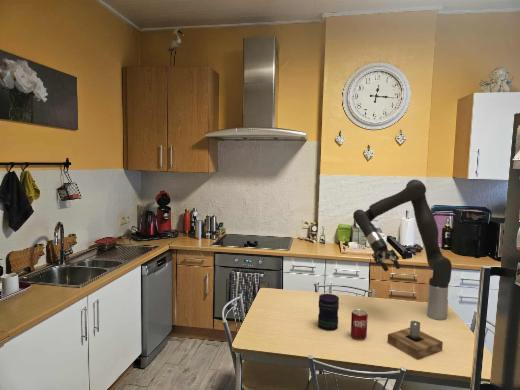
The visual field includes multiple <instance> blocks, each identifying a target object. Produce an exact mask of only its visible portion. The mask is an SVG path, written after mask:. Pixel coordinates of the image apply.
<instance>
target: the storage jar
mask: <svg viewBox="0 0 520 390" xmlns="http://www.w3.org/2000/svg"><path fill="white" fill-rule="evenodd" d="M339 300H340V298H339V296H338V295H336V294H332V293H321V294H319V295H318V315H317V321H318V322H317V323H318V325H317V327H318V328H319V329H320V330H322V331H326V332H333V331H336V330H338V328H339V309H340V306H339V305H340V301H339Z"/></svg>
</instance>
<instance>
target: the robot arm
mask: <svg viewBox="0 0 520 390" xmlns="http://www.w3.org/2000/svg"><path fill="white" fill-rule="evenodd" d="M426 192H427V187H426V185H425V184H424V183H423V182H422V181H421V180H419V179H411V180H409V181H408V182H407V184H406V185H405V188H403V189H402V190H400V191H399V192H397V193H395V194H392V195H390V196H388V197H384V198H382V199H380V200H378V201H376V202H374V203H372V204H371V205H370V206H368V208H367V209H366V210H365V211H364V209H356V210H355V211H354V212H353V216H352V217H353V220H354V222H355V223H356V224H357V226H358V227H359V229H360V230H361V232H362V233H363V235H364V238H365V239H366V241H367V243H368V245H369V247H370V248H371V250H372V251H373V253H372V254H371V257H372V258H373V259H374V262H375V263H376V265H378V266H379V265H380V266H381V268H382V269H383V271H384V272H388V271H389V268H388V266H387V264H386V263H385V261H391V262H392V264H393V266H394V267H395V268H396V270H400V269H401V264H400V263H399V260H400V257H399V256H398V255H397V253H396V251H395V250H394V249H393V248H392V249H391V250H389V249H388V244H387V243H386V241H385V239H384V238H383V236H382V235H381V234H380V233H379V231H378V229H377V228H376V226H375V225H374V224H373V223H372V221H374V220H375V219H376V218H378V216H381V215H384V214H385V213H387V212H389V211H391V210H393V209H395V208H397V207H399V206H401V205H403V204H405V203H408V202H411V204H412V207H413V214H414V218H415V222H416V227H417V229H418V233H419V235H420V238H421V241H422V244H423V246H424V250H425V254H426V261H427V264H428V267H429V268H430V269H431V270H432V277H430V278H429V281H428V292H427V295H428V297H427V307H426V308H427V311H426V314H427V317H428V318H431V319H433V320H439V321H440V320H441V321H444V320H447V317H448V307H449V299H448V295H449V294H448V293H449V284H450V282H451V279H452V278H451V277H452V270H453V269H452V262H451V260H450V258H447V257H446V256H444V255H443V254H442V251H441V249H440V246H439V227H438V225H437V221H436V219H435V216H434V214H433V212H432V209H431V208H430V205H429V204H428V200H427V197H426Z"/></svg>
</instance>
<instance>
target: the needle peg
mask: <svg viewBox="0 0 520 390" xmlns="http://www.w3.org/2000/svg"><path fill="white" fill-rule="evenodd" d="M409 328H410V340H412V341H414V342H419V337H420V331H421V322H420V321H418V320H417V321H416V320H411V321H410V326H409Z"/></svg>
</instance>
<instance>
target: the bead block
mask: <svg viewBox="0 0 520 390" xmlns="http://www.w3.org/2000/svg"><path fill="white" fill-rule="evenodd" d="M386 343H387V344H389V345H391V346H392V347H394V348H397V349H398V350H400V351H401V352H404V353H405V354H407V355H408V356H411V357H412V358H414V359H416V360H417V361H418V360H420V359H423V358H426V357H429V356H431V355H435V354H437V353H440V352H442V351H443V346H444V345H443V340H442V341H441V340H439V338H436V337H434V336H431V335H430V334H427V333H425V332H424V331H421V330H420V337H419V342H414V341H412V340H410V327H407V328H403V329H400V330H397V331H394V332H390V333H387V341H386Z"/></svg>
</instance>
